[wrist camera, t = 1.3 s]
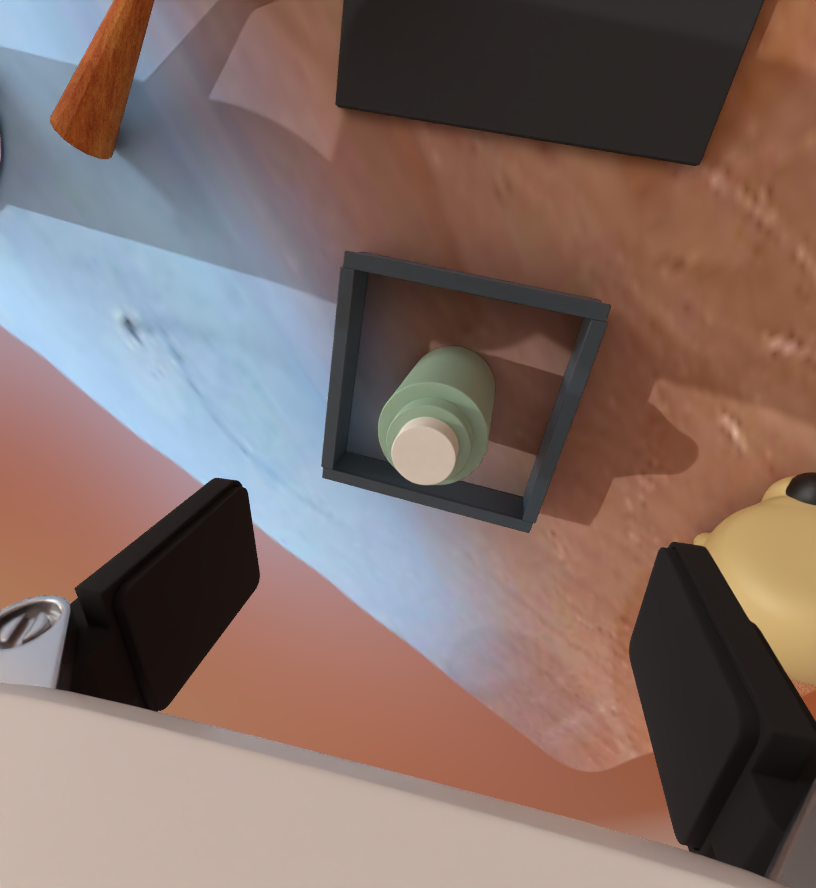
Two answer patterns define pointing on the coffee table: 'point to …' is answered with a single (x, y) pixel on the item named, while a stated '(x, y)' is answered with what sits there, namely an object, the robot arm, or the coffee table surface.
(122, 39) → the kendama
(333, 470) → the rectangular frame
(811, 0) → the coffee table surface
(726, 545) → the toy pig
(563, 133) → the mat
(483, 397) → the detergent bottle
